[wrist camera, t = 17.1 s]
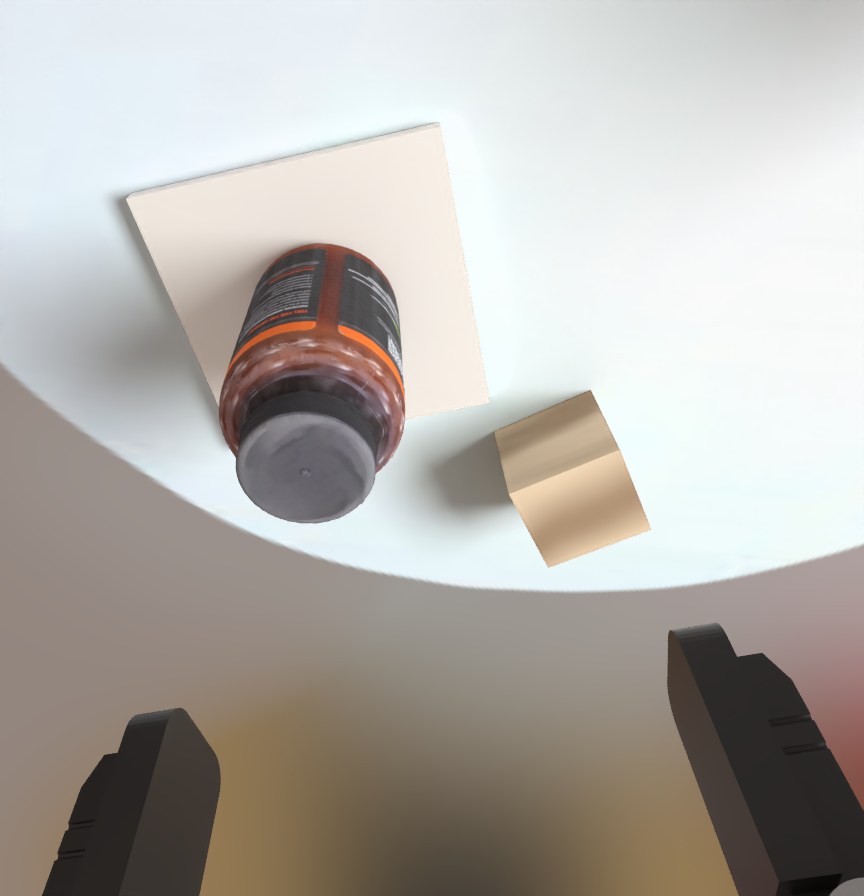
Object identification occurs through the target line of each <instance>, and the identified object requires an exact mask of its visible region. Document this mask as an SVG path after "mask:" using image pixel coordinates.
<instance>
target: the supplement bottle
mask: <svg viewBox="0 0 864 896" xmlns="http://www.w3.org/2000/svg"><path fill="white" fill-rule="evenodd" d="M219 419H220V425H221V428H222V432H223V435H224V437H225V440H226V442H227V444H228V445H229V448H230V449H231V451H232V453H233V454H234V456H235V457H236V473H237V477H238V480H239V483H240V485H241V487H242V489H243V491H244V493H245V494H246V495H247V496H248V497H249V498H250V500H251V501H252V502H253V503H254V504H255V505H257V506H258V507H259V508H261V509H262V510H263V511H265V512H267V513H269V514H271V515H273V516H275V517H278V518H280V519H283V520H287V521H290V522H297V523H322V522H327V521H331V520H334V519H338V518H340V517H342V516H344V515H346V514H348V513H349V512H351V511H352V510H354V509H355V508H356V507H358V505H359V504H362V503H363V502H364V500H365V498H366V497H367V495H368V494H369V493H370V491H371V489H372V487H373V484H374V480H375V474H376V473H377V472H378V471H380V470H381V469H382V467H383V466H385V465H386V463H387V462H388V461H389V459H390V458H391V457H392V456H393V455H394V452H395V451H396V449H397V447H398V445H399V442H400V440H401V437H402V433H403V429H404V422H405V389H404V375H403V365H402V348H401V333H400V321H399V311H398V306H397V301H396V297H395V294H394V291H393V289H392V287H391V284H390V283H389V281H388V279H387V277H386V276H385V275H384V274H383V272H382V271H381V270H380V268H379V267H378V266H376V265H375V264H374V262H372V261H371V260H370V259H368V258H367V257H366V256H364V255H362V254H361V253H359V252H356V251H354V250H352V249H349V248H346V247H343V246H339V245H334V244H324V243H315V244H309V245H304V246H301V247H298V248H295V249H292V250H290V251H288V252H287V253H285V254H283V255H282V256H280V257H279V258H277V259H276V260H275V261H274V262H273V263H271V264H270V265H269V267H268V268H267V269H266V271H265V272H264V273H263V275H262V277H261V278H260V281H259V282H258V284H257V286H256V288H255V291H254V293H253V296H252V299H251V302H250V305H249V307H248V311H247V314H246V317H245V320H244V322H243V325H242V329H241V331H240V334H239V336H238V340H237V342H236V346H235V349H234V351H233V354H232V357H231V360H230V363H229V366H228V369H227V373H226V376H225V379H224V382H223V385H222V389H221V394H220V400H219Z"/></svg>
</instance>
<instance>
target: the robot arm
mask: <svg viewBox="0 0 864 896" xmlns="http://www.w3.org/2000/svg"><path fill="white" fill-rule="evenodd" d="M667 679H668V680H667V687H668V694H669V700H670V705H671V709H672V713H673V716H674V720H675V723H676V726H677V729H678V731H679V734H680V737H681V740H682V742H683V745H684V748H685V750H686V753H687V756H688V759H689V761H690V764H691V766H692V769H693V772H694V775H695V778H696V780H697V783H698V786H699V788H700V791H701V794H702V796H703V799H704V802H705V805H706V807H707V810H708V813H709V816H710V818H711V821H712V824H713V826H714V829H715V832H716V835H717V837H718V840H719V843H720V845H721V848H722V851H723V854H724V856H725V859H726V862H727V864H728V867H729V870H730V873H731V875H732V878H733V881H734V883H735V886H736V889H737V892H738V894H739V896H864V811H863V809H862V807H861V805H860V803H859V802H858V800H857V798H856V796H855V794H854V793H853V791H852V789H851V787H850V785H849V783H848V781H847V780H846V778H845V776H844V774H843V772H842V771H841V769H840V767H839V765H838V763H837V762H836V760H835V758H834V756H833V754H832V752H831V751H830V749H828V748H827V746H826V743H825V740H824V738H823V736H822V734H821V732H820V731H819V729H818V727H817V725H816V723H815V721H814V720H812V719H811V716H810V712H809V710H808V708H807V707H806V705H805V703H804V701H803V699H802V698H801V696H800V694H799V692H798V690H797V688H796V687H795V685H794V683H793V681H792V680H791V679H790V678H789V677H788V676H787V675H786V674H785V673H784V672H782V671H781V670H780V669H779V668H778V667H777V666H776V665H775V664H774V663H773V662H772V661H770V660H769V659H768V658H767V657H766V656H765V655H764V654H763V653H759V654H752V655H746V656H740V657H737V656H736V654H735V652H734V650H733V648H732V645H731V643H730V641H729V640H728V637H727V635H726V633H725V632H724V630H723V628H722V627H721V626H720V625H719V624H718V623H713V624H707V625H700V626H695V627H688V628H682V629H676V630H670V631H669V635H668V677H667ZM220 780H221V778H220V767H219V763H218V759H217V757H216V754H215V753H214V751H213V750H212V748H211V747H210V745H209V744H208V742H207V741H206V739H205V738H204V736H203V735H202V734H201V732H200V731H199V729H198V728H197V726H196V725H195V723H194V722H193V720H192V719H191V718H190V716H189V715H188V713H187V712H186V711H185V710H184V709H182V708H175V709H169V710H164V711H157V712H151V713H145V714H139V715H135V716H134V717H133V718H132V719H131V720H130V721H129V723H128V725H127V727H126V730H125V733H124V735H123V738H122V741H121V745H120V748H119V751H118V753H113V754H107V755H104V756H103V758H102V759H101V760H100V762H99V763H98V765H97V766H96V767H95V769H94V770H93V772H92V773H91V775H90V776H89V777H88V779H87V780H86V782H85V783H84V784H83V786H82V787H81V790H80V792H79V795H78V798H77V801H76V803H75V806H74V809H73V812H72V814H71V817H70V820H69V823H68V824H69V829H68V830H67V831H65V834H64V836H63V839H62V842H61V845H60V847H59V850H58V859H57V860H56V861H54V864H53V867H52V870H51V872H50V875H49V878H48V881H47V883H46V886H45V889H44V892H43V894H42V896H199V894H200V889H201V883H202V879H203V874H204V869H205V863H206V859H207V853H208V848H209V844H210V838H211V833H212V828H213V823H214V818H215V813H216V808H217V803H218V798H219V792H220Z"/></svg>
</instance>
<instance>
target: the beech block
mask: <svg viewBox="0 0 864 896" xmlns="http://www.w3.org/2000/svg"><path fill="white" fill-rule="evenodd" d="M494 434H495V438H496V443H497V447H498V451H499V455H500V460H501V464H502V468H503V472H504V476H505V481H506V485H507V489H508V493H509V496H510V497H511V499H512V501H513V503H514V505H515V507H516V509H517V510H518V512H519V514H520V516H521V518H522V520H523V522H524V523H525V525H526V527H527V529H528V531H529V533H530V535H531V536H532V538H533V540H534V542H535V544H536V546H537V548H538V549H539V551H540V553H541V555H542V557H543V559H544V561H545V562H546V564H547V566H548V568H549V567H552V566H555V565H557V564H560V563H563V562H565V561H568V560H571V559H573V558H576V557H579V556H581V555H584V554H587V553H589V552H592V551H595V550H597V549H600V548H603V547H605V546H608V545H611V544H613V543H616V542H619V541H621V540H624V539H627V538H629V537H632V536H635V535H637V534H640V533H643V532H646V531H648V530H651V528H650V525H649V523H648V520H647V518H646V515H645V512H644V510H643V507H642V505H641V502H640V500H639V497H638V495H637V492H636V490H635V487H634V485H633V482H632V480H631V477H630V475H629V472H628V469H627V467H626V464H625V462H624V459H623V457H622V454H621V452H620V449H619V447H618V445H617V443H616V441H615V439H614V437H613V435H612V433H611V431H610V429H609V427H608V425H607V423H606V421H605V418H604V416H603V414H602V412H601V410H600V408H599V406H598V404H597V402H596V400H595V398H594V396H593V394H592V392H591V390H590V391H588V392H585V393H583V394H581V395H578V396H576V397H574V398H571V399H569V400H566V401H564V402H562V403H559V404H557V405H555V406H552V407H550V408H548V409H545V410H543V411H540V412H538V413H536V414H533V415H531V416H529V417H526V418H524V419H522V420H519V421H517V422H515V423H512V424H510V425H507V426H505V427H503V428H500V429H498V430H496V431H494Z"/></svg>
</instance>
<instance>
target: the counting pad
mask: <svg viewBox="0 0 864 896" xmlns="http://www.w3.org/2000/svg"><path fill="white" fill-rule="evenodd" d="M126 201H127V203H128V205H129V207H130V210H131V212H132V214H133V216H134V219H135V221H136V223H137V225H138V227H139V230H140V232H141V234H142V236H143V239H144V241H145V243H146V245H147V248H148V250H149V252H150V254H151V257H152V259H153V261H154V263H155V265H156V268H157V270H158V272H159V274H160V277H161V279H162V281H163V283H164V286H165V288H166V290H167V292H168V295H169V297H170V299H171V301H172V304H173V306H174V308H175V310H176V312H177V315H178V317H179V319H180V321H181V324H182V326H183V328H184V330H185V333H186V335H187V337H188V339H189V342H190V344H191V346H192V348H193V350H194V353H195V355H196V357H197V359H198V362H199V364H200V366H201V368H202V371H203V373H204V375H205V377H206V380H207V382H208V384H209V386H210V389H211V391H212V393H213V395H214V397H215V400H216V402H217V404H218V406H219V400H220V394H221V389H222V385H223V382H224V379H225V376H226V373H227V369H228V366H229V363H230V360H231V357H232V354H233V351H234V349H235V346H236V342H237V340H238V336H239V334H240V331H241V329H242V325H243V322H244V320H245V317H246V314H247V311H248V307H249V305H250V302H251V299H252V296H253V293H254V291H255V288H256V286H257V284H258V282H259V281H260V278H261V277H262V275H263V273H264V272H265V271H266V269H267V268H268V267H269V265H270V264H271V263H273V262H274V261H275V260H276V259H277V258H279V257H280V256H282V255H283V254H285V253H287V252H288V251H290V250H292V249H295V248H298V247H301V246H304V245H309V244H315V243H324V244H334V245H339V246H343V247H346V248H349V249H352V250H354V251H356V252H359V253H361V254H362V255H364V256H366V257H367V258H368V259H370V260H371V261H372V262H374V264H375V265H376V266H378V267H379V268H380V270H381V271H382V272H383V274H384V275H385V276H386V277H387V279H388V281H389V283H390V284H391V287H392V289H393V291H394V294H395V297H396V301H397V306H398V311H399V321H400V333H401V348H402V365H403V375H404V389H405V420H408V419H413V418H418V417H423V416H428V415H432V414H437V413H442V412H447V411H452V410H457V409H462V408H467V407H472V406H477V405H482V404H487V403H490V400H489V394H488V388H487V383H486V377H485V372H484V366H483V360H482V355H481V349H480V344H479V338H478V332H477V327H476V321H475V316H474V310H473V305H472V299H471V293H470V288H469V282H468V277H467V271H466V265H465V260H464V254H463V249H462V243H461V237H460V232H459V226H458V221H457V215H456V210H455V204H454V198H453V193H452V187H451V182H450V176H449V170H448V165H447V159H446V154H445V148H444V142H443V137H442V131H441V126H440V123H439V122H438V123H434V124H430V125H425V126H421V127H417V128H412V129H408V130H404V131H399V132H395V133H391V134H386V135H382V136H378V137H373V138H369V139H365V140H360V141H356V142H352V143H347V144H343V145H339V146H334V147H330V148H326V149H321V150H317V151H312V152H308V153H304V154H299V155H295V156H291V157H286V158H282V159H278V160H273V161H269V162H265V163H260V164H256V165H252V166H247V167H243V168H239V169H234V170H230V171H226V172H221V173H217V174H213V175H208V176H204V177H200V178H195V179H191V180H186V181H182V182H178V183H173V184H169V185H165V186H160V187H156V188H152V189H147V190H143V191H139V192H134V193H131V194H130V195H129V196H128V197H127V198H126Z"/></svg>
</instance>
